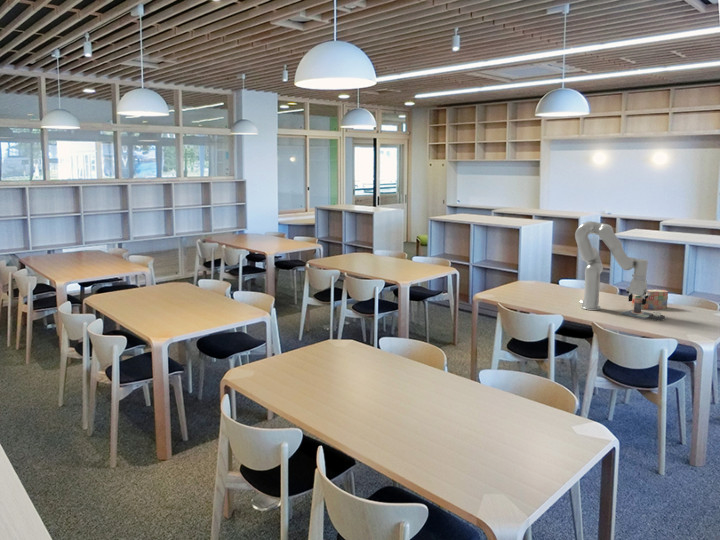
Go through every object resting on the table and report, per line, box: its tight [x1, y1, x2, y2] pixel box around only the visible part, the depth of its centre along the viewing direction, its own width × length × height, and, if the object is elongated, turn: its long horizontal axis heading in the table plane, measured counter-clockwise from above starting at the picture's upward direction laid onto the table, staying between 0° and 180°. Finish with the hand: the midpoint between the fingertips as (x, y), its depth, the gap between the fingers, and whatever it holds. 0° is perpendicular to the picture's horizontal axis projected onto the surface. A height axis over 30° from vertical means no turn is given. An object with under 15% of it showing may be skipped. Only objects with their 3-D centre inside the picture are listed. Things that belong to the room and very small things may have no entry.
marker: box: [633, 298, 642, 313], centre depth 393 cm, size 5×5×9 cm
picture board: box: [620, 309, 653, 320], centre depth 391 cm, size 17×14×1 cm
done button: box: [652, 311, 662, 317], centre depth 380 cm, size 5×5×2 cm
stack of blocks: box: [631, 289, 669, 310], centre depth 408 cm, size 21×6×12 cm, turn 85°
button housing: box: [648, 313, 666, 321], centre depth 380 cm, size 7×7×2 cm
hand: (636, 302), depth 393 cm, fingers open, 9 cm apart
